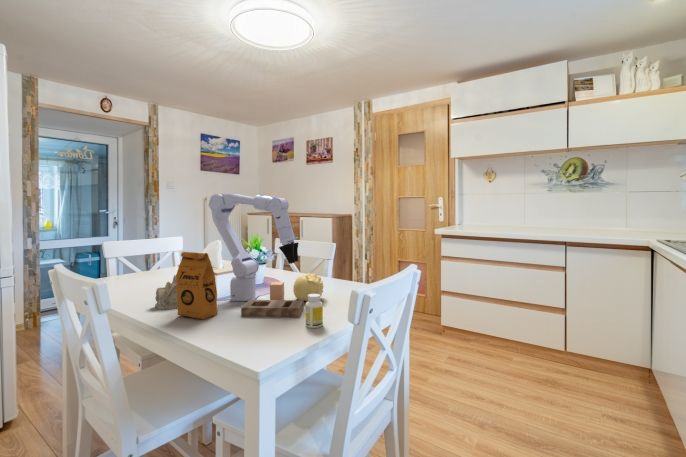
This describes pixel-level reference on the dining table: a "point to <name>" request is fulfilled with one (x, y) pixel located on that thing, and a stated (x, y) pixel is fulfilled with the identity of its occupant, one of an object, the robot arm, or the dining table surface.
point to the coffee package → (196, 286)
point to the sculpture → (307, 286)
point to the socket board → (273, 308)
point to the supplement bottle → (314, 311)
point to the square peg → (277, 291)
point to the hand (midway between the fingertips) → (293, 262)
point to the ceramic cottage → (167, 295)
